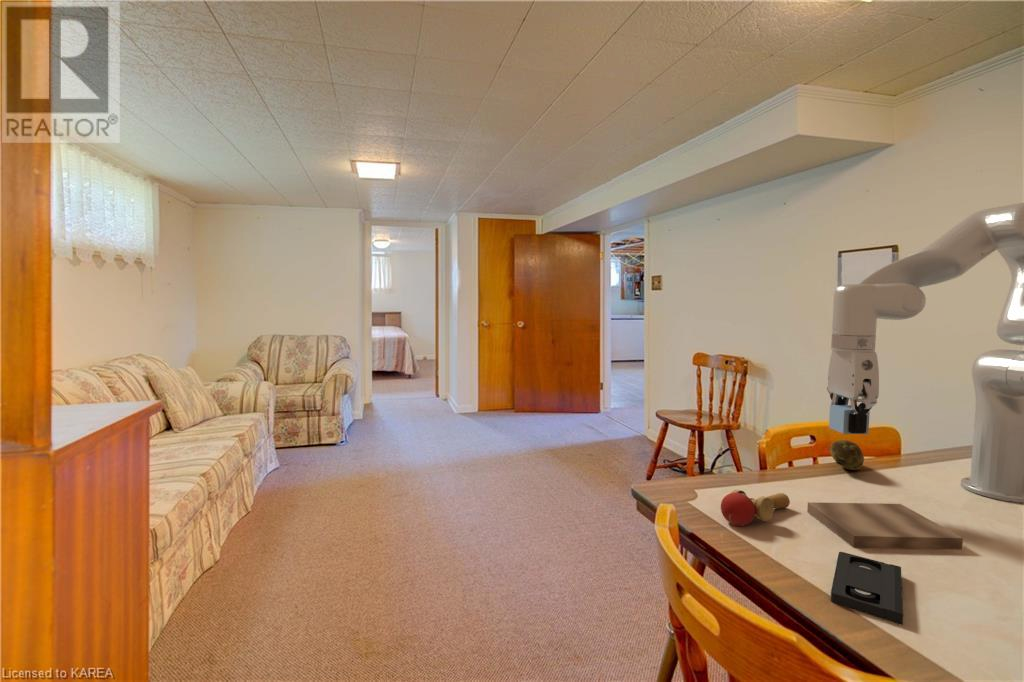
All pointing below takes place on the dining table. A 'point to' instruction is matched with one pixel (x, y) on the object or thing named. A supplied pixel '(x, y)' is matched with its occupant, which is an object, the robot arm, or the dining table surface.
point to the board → (883, 526)
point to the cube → (842, 419)
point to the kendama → (750, 507)
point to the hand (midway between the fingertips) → (848, 428)
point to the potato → (847, 454)
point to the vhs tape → (868, 587)
